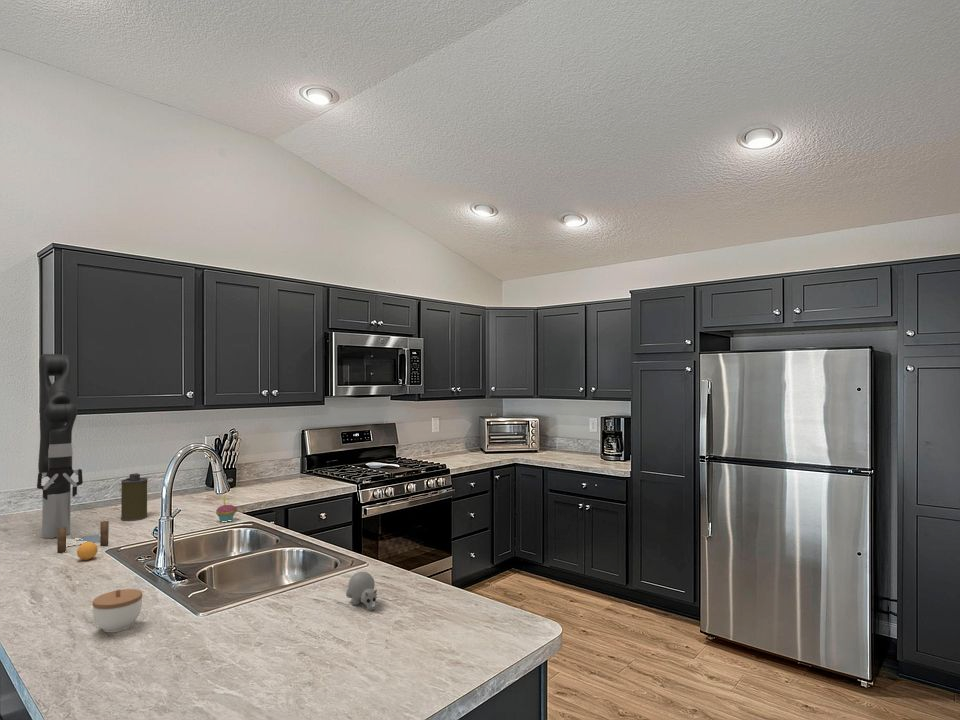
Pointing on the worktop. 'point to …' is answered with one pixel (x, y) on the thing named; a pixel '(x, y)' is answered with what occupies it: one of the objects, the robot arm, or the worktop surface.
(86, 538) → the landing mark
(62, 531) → the post
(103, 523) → the post
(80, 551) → the ball
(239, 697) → the worktop surface
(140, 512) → the canister
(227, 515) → the cupcake
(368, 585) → the chubby cartoon animal
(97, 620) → the lidded jar
